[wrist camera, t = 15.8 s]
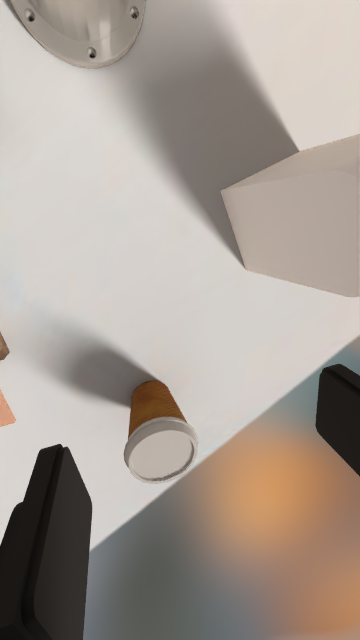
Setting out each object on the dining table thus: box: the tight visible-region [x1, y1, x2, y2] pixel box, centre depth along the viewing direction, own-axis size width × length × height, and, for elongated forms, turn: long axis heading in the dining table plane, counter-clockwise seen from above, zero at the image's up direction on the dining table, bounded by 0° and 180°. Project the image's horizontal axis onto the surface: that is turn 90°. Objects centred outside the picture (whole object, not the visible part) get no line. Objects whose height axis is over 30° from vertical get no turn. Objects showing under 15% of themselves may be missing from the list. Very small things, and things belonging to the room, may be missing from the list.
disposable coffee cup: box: [124, 381, 198, 484], centre depth 37 cm, size 10×10×12 cm
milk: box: [220, 134, 360, 297], centre depth 24 cm, size 12×12×26 cm
